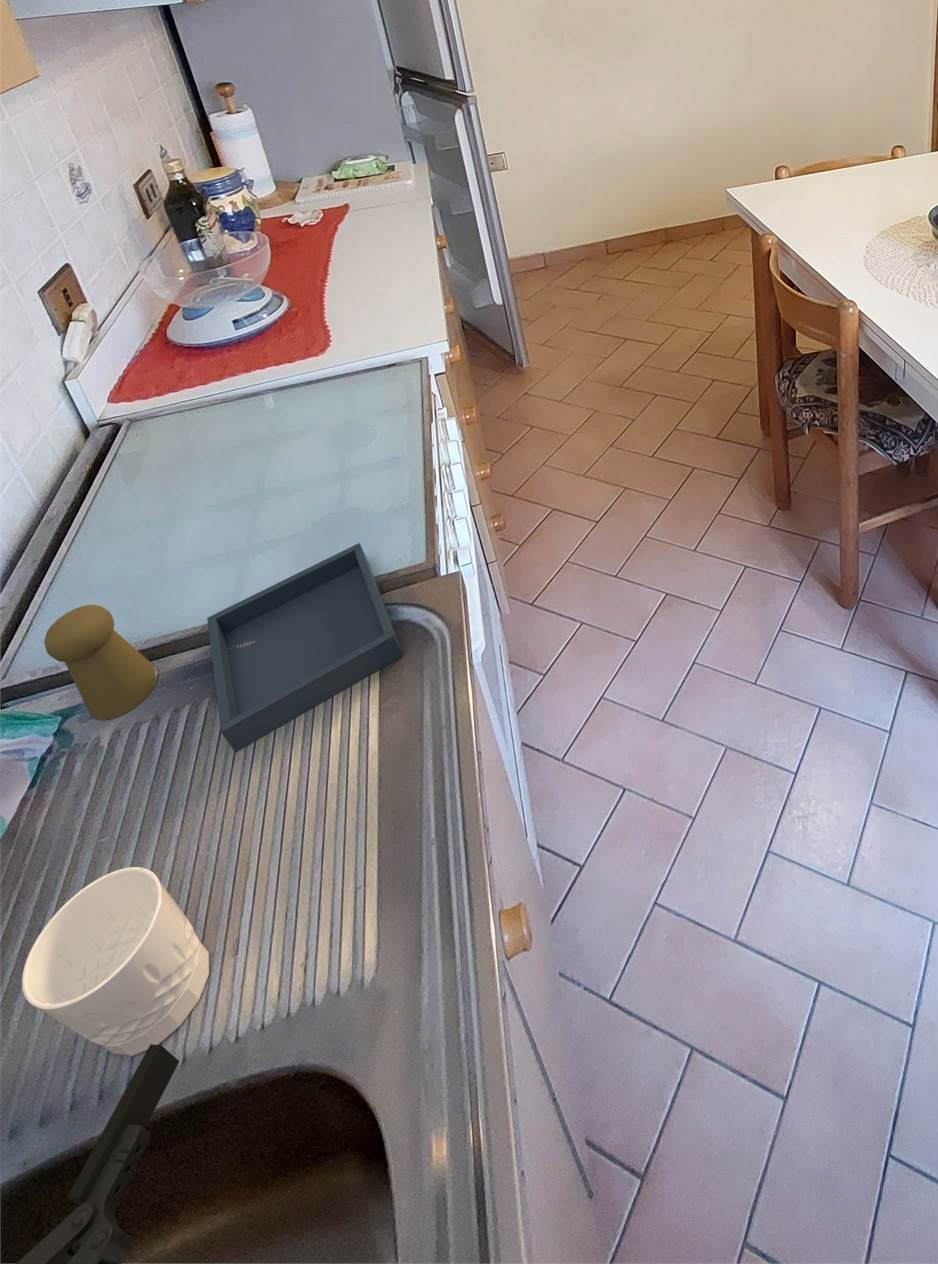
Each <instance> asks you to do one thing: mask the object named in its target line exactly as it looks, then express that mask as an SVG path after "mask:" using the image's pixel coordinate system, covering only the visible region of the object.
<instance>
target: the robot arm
mask: <svg viewBox="0 0 938 1264" xmlns="http://www.w3.org/2000/svg"><path fill="white" fill-rule="evenodd" d="M179 1063H180V1060H179V1059H178V1058H176V1057H175V1055H173V1054H172V1053H171V1052H170V1051H169V1050H168V1049H166V1048H165V1047H164V1046H163V1045H162V1044H158V1045H154V1044H150V1046H149V1048H148V1050H146V1051H145V1054H144V1055H143V1057H142V1059H141V1061H140V1062H139V1064H138V1066H137V1068H136V1070H135V1071H134V1073H133V1075H132V1077H131V1079H130V1081H129V1082H128V1085H127V1087H126V1088H125V1090H124V1092H123V1094H122V1096H121V1098H120V1099H119V1101H118V1103H117V1105H116V1107H115V1108H114V1110H113V1112H112V1114H111V1116H110V1118H109V1119H108V1121H107V1123H106V1125H105V1127H104V1128H103V1131H102V1132H101V1134H100V1136H99V1138H98V1139H97V1141H96V1143H95V1146H94V1147H93V1149H92V1151H91V1153H90V1154H89V1156H88V1158H87V1160H86V1162H85V1163H84V1166H83V1167H82V1168H81V1171H80V1172H79V1174H78V1176H77V1178H76V1180H75V1181H74V1184H73V1186H72V1187H71V1189H70V1191H69V1193H68V1195H67V1197H66V1199H68V1200H70V1201H72V1202H74V1203H75V1204H77V1205H78V1206H77V1207H76V1208H75V1209H74V1210H73V1211H71V1213H70V1214H68V1215H67V1217H65V1218H64V1219H63V1220H61V1222H60V1223H59V1224H58V1225H57V1226H55V1227H54V1228H53V1229H52V1230H51V1231H50V1232H49V1233H48V1234H47V1235H45V1236H44V1238H42V1240H40V1242H38V1243H37V1244H36V1245H35V1246H33V1248H31V1249H30V1250H29V1251H28V1252H27V1253H26V1254H25V1255H24V1256H23V1257H22V1258H20V1259H19V1261H17V1262H16V1263H15V1264H123V1262H124V1261H126V1259H127V1257H128V1255H129V1254H130V1251H131V1249H132V1245H133V1240H132V1236H130V1235H128V1233H126V1232H125V1231H124V1230H123V1229H122V1227H120V1226H119V1221H118V1219H116V1218H115V1216H116V1215H115V1214H116V1212H117V1211H116V1210H117V1207H118V1205H119V1203H120V1201H121V1199H122V1197H123V1195H124V1193H125V1192H126V1189H127V1187H128V1186H129V1183H130V1181H131V1179H132V1178H133V1175H134V1173H135V1170H136V1169H137V1167H138V1166H139V1163H140V1161H141V1159H142V1157H143V1156H144V1153H145V1152H146V1149H147V1147H148V1146H149V1141H150V1137H151V1132H150V1131H148V1130H147V1125H148V1124H149V1121H150V1120H151V1118H152V1116H153V1114H154V1112H155V1110H156V1108H157V1106H158V1104H159V1102H160V1100H161V1098H162V1096H163V1094H164V1092H165V1090H166V1089H167V1088H168V1087H167V1086H168V1084H169V1083H170V1081H171V1079H172V1077H173V1075H174V1073H175V1071H176V1069H177V1067H178V1065H179Z"/></svg>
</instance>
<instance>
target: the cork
mask: <svg viewBox="0 0 938 1264" xmlns="http://www.w3.org/2000/svg"><path fill="white" fill-rule="evenodd" d="M114 628H115V621H114V618H113V615H112V614H111V612H110V610H108V609H107V608H105V607H104V606H102V605H97V604H85V605H81V606H78V607H76V608H73V609H71V610H70V611H68V612H66V613H63V615H62V616H60V617H58V619H56V620H55V621H54V622H53V623H52V625H50V626H49V628H48V630H47V631H46V634H45V637H44V642H43V644H44V647H45V648H44V649H45V651H46V653H47V655H48V656H50V658H52V659H53V660H56V661H58V662H59V663H61V662H62V663H65V665H66V667H67V670H68V672H69V674H70V676H71V679H72V680H73V682H74V685H75V686H76V689H77V690H78V692H79V695H80V697H81V699H82V701H83V703H84V705H85V707H86V709H87V711H88V714H89V715H90V717H91V718H93V719H94V720H96V721H108V720H113V719H116V718H119V717H121V716H123V715H126V714H127V713H129V712H130V711H132V710H133V709H135V708H137V707H138V706H139V705H140V704H141V703H143V702H144V701H145V700H146V699H147V698H148V696H149V695H150V694H151V693H152V692H153V690H154V689H155V687H156V685H157V683H158V681H157V680H156V677H155V669H154V666H155V665H154V664H153V663H152V662H151V661H150V660H148V659H147V658H146V657H145V656H144V655H143V654H142V653H140V651H138V650H137V649H136V648H135V647H134V646H133V645H132V644H131V643H129V641H127V639H125V638H124V637H122V635H120V634H119V633H118V632H117V631H116V630H115V629H114ZM153 665H154V666H153Z"/></svg>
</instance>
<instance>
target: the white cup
mask: <svg viewBox="0 0 938 1264" xmlns="http://www.w3.org/2000/svg"><path fill="white" fill-rule="evenodd" d="M209 975H210V953H209V951H208V950H207V949H206V947H205V946H204V944H202V942H201V941H200V939H199V938H198V936H197V933H196V932H195V929H194V927H193V925H192V924H191V922H190V921H189V919H188V918H187V916H186V914H185V913H184V912H183V910H182V909H181V908H180V906H179V905H178V904H177V902H176V901H175V899H174V898H173V896H172V895H171V894H170V893H169V891H168V890H167V888H166V887H165V886H164V885H163V883H162V881H160V879H159V878H158V876H157V875H156V874H155V873H154V872H153V871H151V870H150V869H148V868H145V867H140V866H131V867H124V868H120V869H116V870H114V871H111V872H109V873H106V874H104V875H103V876H100V877H99V878H97V879H95V880H94V881H92V882H90V883H89V884H87V885H86V886H85V887H83V888H82V889H81V890H79V891H78V892H76V893H75V894H74V895H73V896H72V897H71V898H70V899H68V900H67V901H66V902H65V903H64V904H63V905H62V906H60V908H59V909H58V910H57V911H56V913H54V914H53V916H52V917H51V919H50V920H49V921H48V922H47V923H46V925H45V926H44V927H43V928H42V930H41V932H40V933H39V935H38V936H37V938H36V940H35V941H34V943H33V945H32V946H31V949H30V951H29V952H28V955H27V957H26V960H25V963H24V967H23V971H22V977H21V987H22V992H23V995H24V997H25V1000H27V1002H28V1003H29V1004H30V1005H31V1006H33V1007H35V1008H36V1009H37V1010H39V1011H41V1012H42V1013H44V1014H46V1015H47V1016H48V1017H50V1018H52V1019H53V1020H55V1021H56V1022H57V1023H60V1024H61V1025H63V1026H64V1027H66V1028H67V1029H69V1030H70V1031H72V1032H74V1033H76V1034H78V1036H79V1035H80V1036H81V1037H83V1038H85V1040H88V1041H90V1042H92V1043H94V1044H97V1045H99V1046H101V1047H103V1048H104V1049H106V1050H107V1051H109V1052H110V1053H111V1054H114V1055H121V1056H128V1057H133V1056H136V1055H139V1054H141V1053H143V1052H146V1051H147V1050H148V1048H149V1046H150V1044H154V1045H161V1043H162V1042H164V1041H165V1039H167V1038H168V1037H169V1036H170V1035H171V1034H172V1033H174V1032H176V1030H177V1029H179V1028H180V1027H181V1026H182V1024H183V1023H184V1022H185V1020H186V1019H187V1018H188V1016H189V1015H190V1013H191V1012H192V1011H193V1009H194V1008H195V1006H196V1005H197V1004H198V1002H199V1001H200V998H201V996H202V994H203V991H204V988H205V987H206V983H207V980H208V978H209Z"/></svg>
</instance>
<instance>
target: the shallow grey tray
mask: <svg viewBox="0 0 938 1264" xmlns="http://www.w3.org/2000/svg"><path fill="white" fill-rule="evenodd" d="M381 594H382V593H381V591H380V588H379V585H378V583H377V581H376V579H375V575H374V572H373V570H372V567H371V564H370V562H369V559H368V557H367V555H366V553H365V551H364V549H363V547H362V545H361V543H360V542H358V543H356V544H354V545H352V546H350V547H348V548H346V549H343V550H342V551H340V552H337V553H336V554H334V555H332V556H329V557H327V558H325V559H324V560H322V561H320V562H318V563H315V564H313V565H312V566H309V567H307V568H305V569H303V570H301V571H299V572H297V573H295V574H293V575H291V576H289V577H287V578H285V579H283V580H280V581H279V582H277V583H275V584H273V585H271V586H269V587H267V588H265V589H262V590H260V591H259V592H257V593H255V594H253V595H251V596H248V597H246V598H245V599H242V600H240V601H237V602H235V604H232V605H230V606H228V607H226V608H224V609H222V610H221V611H218V612H215V613H214V614H212V615H210V616H208V617H207V619H206V621H207V629H208V637H209V638H208V639H209V645H210V653H211V654H210V655H211V661H212V671H213V677H214V686H215V695H216V704H217V711H218V720H219V727H220V733H221V734H222V735H223V737H224V738H225V740H226V741H227V743H228V744H229V746H230V747H231V748H232V750H233V752H234V753H236V752H238V751H240V750H242V749H244V748H246V747H247V746H248V744H249V745H251V744H253V743H254V742H256V741H257V740H259V739H261V738H263V737H264V736H266V735H269V734H270V733H272V732H273V731H275V730H277V729H279V728H280V727H282V726H284V725H285V724H288V723H289V722H290V721H293V720H294V719H296V718H298V717H300V716H301V715H303V714H305V713H307V712H308V711H310V710H311V709H312V710H313V708H315V707H317V706H318V705H320V704H322V703H324V702H325V701H328V700H329V699H331V698H332V697H335V696H336V695H338V694H340V693H342V692H343V691H345V690H347V689H349V688H350V687H353V685H355V684H357V683H359V682H361V681H362V680H364V679H366V678H367V677H370V676H371V675H373V674H374V673H376V672H378V671H380V670H381V669H384V668H385V667H387V666H389V665H390V664H392V663H394V662H395V661H397V660H399V659H401V658H402V657H404V653H403V650H402V647H401V645H400V643H399V640H398V637H397V634H396V631H395V629H394V626H393V624H392V621H391V618H390V616H389V613H388V610H387V608H385V607H386V605H385V603H384V602H385V601H384V599H383V597H382V595H381ZM249 641H251V642H252V641H254V644H253V645H252V643H251V645H250V646H249V645H248V646H247V648H246V646H245V648H243V647H241V648H240V647H239V646H240V644H241V645H242V646H243V643H246V642H248V643H249ZM255 641H256V644H255ZM237 645H239V646H238V648H237ZM234 646H235V647H234ZM228 648H229V649H228ZM231 648H232V649H231ZM241 748H242V749H241ZM239 749H240V750H239ZM237 750H238V751H237Z"/></svg>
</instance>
